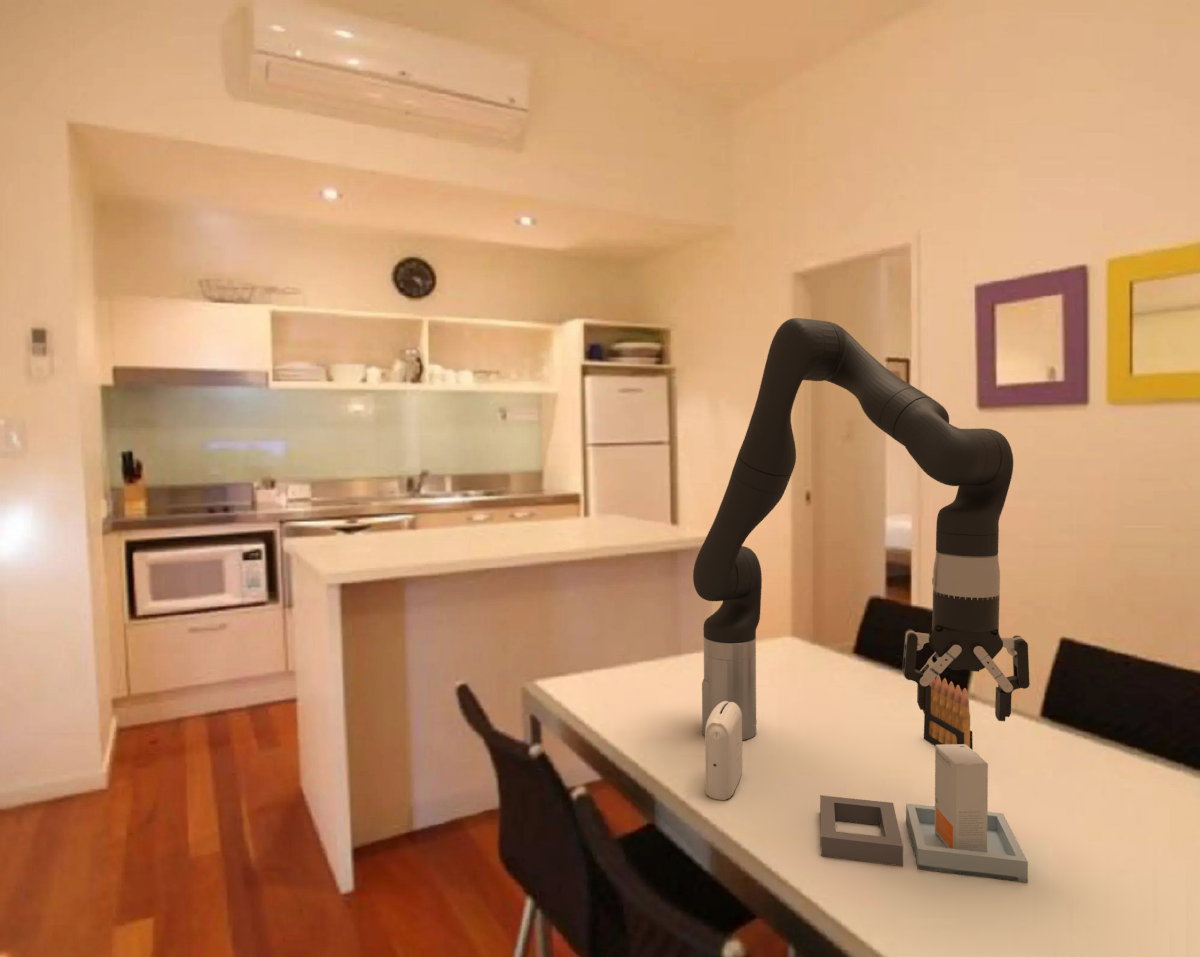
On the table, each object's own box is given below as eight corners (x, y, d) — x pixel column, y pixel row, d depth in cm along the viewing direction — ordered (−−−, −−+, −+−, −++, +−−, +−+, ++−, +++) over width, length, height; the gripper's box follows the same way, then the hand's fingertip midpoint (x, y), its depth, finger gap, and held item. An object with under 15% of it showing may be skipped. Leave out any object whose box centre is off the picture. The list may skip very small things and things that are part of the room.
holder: (821, 855, 97) (821, 836, 97) (820, 812, 108) (820, 795, 108) (902, 866, 94) (902, 846, 94) (892, 820, 105) (893, 802, 105)
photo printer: (731, 802, 111) (730, 718, 111) (702, 798, 113) (701, 715, 112) (745, 773, 121) (744, 696, 120) (718, 769, 122) (717, 693, 122)
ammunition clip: (973, 763, 124) (974, 689, 123) (962, 764, 123) (963, 690, 123) (932, 737, 134) (933, 669, 134) (923, 738, 134) (923, 670, 133)
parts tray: (917, 868, 94) (918, 848, 94) (906, 821, 105) (906, 803, 105) (1027, 882, 91) (1027, 861, 90) (1002, 831, 102) (1003, 813, 102)
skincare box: (933, 833, 101) (933, 743, 100) (965, 832, 101) (966, 743, 100) (954, 858, 95) (954, 763, 94) (988, 858, 95) (989, 762, 94)
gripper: (908, 592, 94) (906, 721, 95) (1037, 597, 91) (1034, 732, 92) (901, 580, 101) (899, 701, 102) (1021, 585, 98) (1017, 710, 99)
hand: (963, 715), depth 97 cm, fingers open, 8 cm apart
